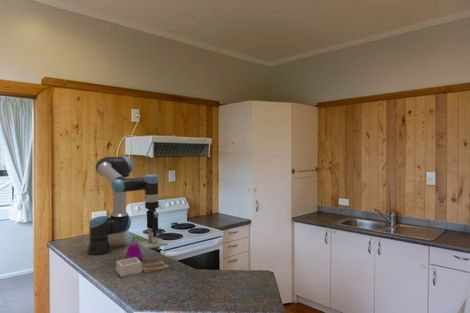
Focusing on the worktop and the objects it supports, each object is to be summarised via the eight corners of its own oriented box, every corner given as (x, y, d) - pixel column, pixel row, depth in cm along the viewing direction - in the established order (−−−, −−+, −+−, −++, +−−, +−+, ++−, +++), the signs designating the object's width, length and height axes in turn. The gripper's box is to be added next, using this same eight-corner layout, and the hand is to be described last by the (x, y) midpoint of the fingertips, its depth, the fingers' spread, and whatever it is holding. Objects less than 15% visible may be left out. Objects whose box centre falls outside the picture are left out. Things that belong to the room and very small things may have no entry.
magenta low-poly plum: (137, 263, 191) (136, 238, 191) (120, 263, 193) (120, 238, 193) (146, 257, 202) (145, 234, 202) (130, 257, 204) (129, 233, 204)
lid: (138, 243, 187) (137, 228, 187) (159, 240, 194) (159, 225, 194) (145, 249, 176) (144, 232, 176) (167, 244, 183) (167, 228, 183)
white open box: (116, 271, 179) (115, 260, 179) (135, 267, 185) (135, 256, 185) (121, 277, 170) (120, 266, 170) (141, 272, 176) (141, 262, 176)
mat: (137, 266, 187) (137, 264, 187) (160, 261, 195) (160, 260, 195) (145, 273, 175) (145, 272, 175) (169, 267, 183) (169, 266, 183)
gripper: (140, 200, 190) (141, 239, 190) (150, 203, 175) (151, 246, 175) (152, 199, 194) (153, 237, 194) (163, 202, 179) (164, 243, 179)
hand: (152, 241), depth 185 cm, fingers closed on lid, 5 cm apart
